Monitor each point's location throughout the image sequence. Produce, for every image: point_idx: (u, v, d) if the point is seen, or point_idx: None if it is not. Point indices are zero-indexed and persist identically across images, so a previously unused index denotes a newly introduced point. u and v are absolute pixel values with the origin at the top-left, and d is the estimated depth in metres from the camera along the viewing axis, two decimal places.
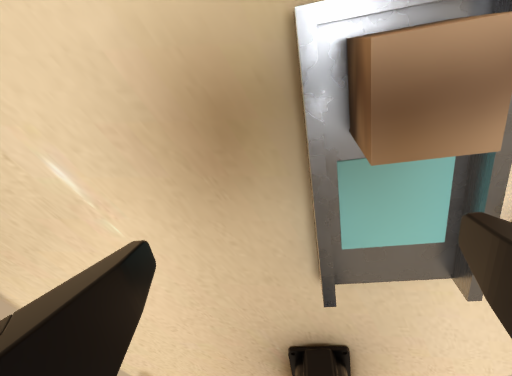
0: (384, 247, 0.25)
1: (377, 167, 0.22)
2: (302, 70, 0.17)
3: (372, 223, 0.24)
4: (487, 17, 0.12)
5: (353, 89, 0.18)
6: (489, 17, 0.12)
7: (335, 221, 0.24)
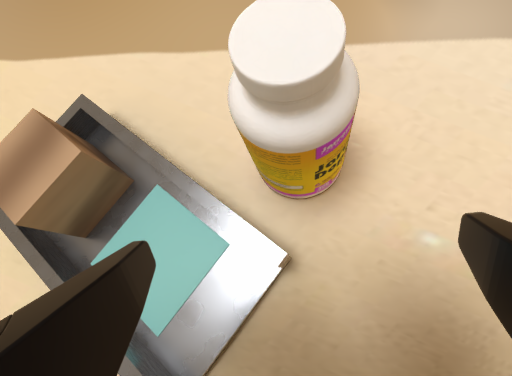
0: (191, 297, 0.21)
1: (122, 241, 0.23)
2: None
3: (159, 285, 0.22)
4: (19, 124, 0.21)
5: None
6: None
7: None
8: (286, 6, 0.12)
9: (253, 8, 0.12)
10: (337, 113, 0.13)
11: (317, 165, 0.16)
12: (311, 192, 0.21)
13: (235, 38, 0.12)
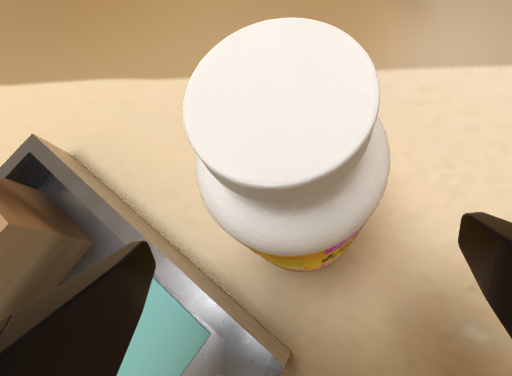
0: None
1: None
2: None
3: None
4: None
5: None
6: None
7: None
8: (277, 45, 0.07)
9: (224, 47, 0.08)
10: (359, 206, 0.08)
11: (326, 256, 0.12)
12: (316, 268, 0.16)
13: (193, 98, 0.07)
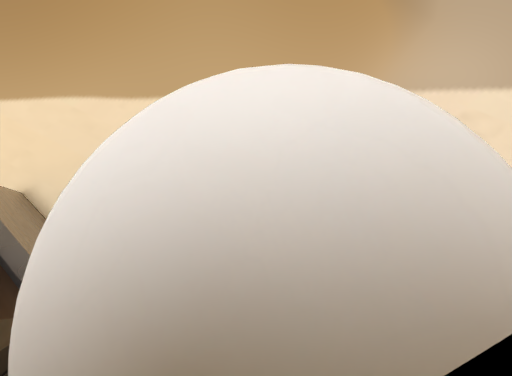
0: None
1: None
2: None
3: None
4: None
5: None
6: None
7: None
8: (265, 141, 0.03)
9: (136, 138, 0.03)
10: None
11: None
12: None
13: (41, 283, 0.03)
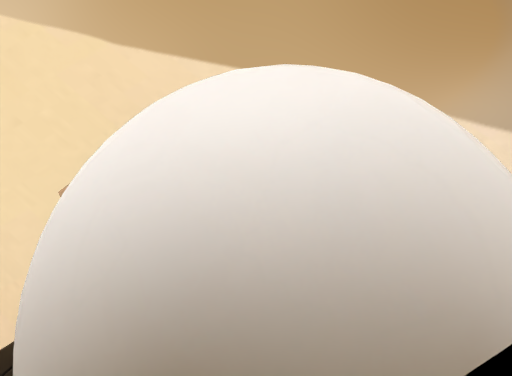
0: None
1: None
2: None
3: None
4: None
5: None
6: None
7: None
8: (262, 140, 0.03)
9: (135, 138, 0.03)
10: None
11: None
12: None
13: (45, 278, 0.03)
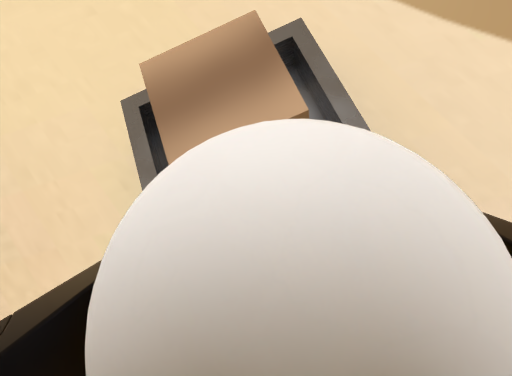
0: None
1: None
2: (132, 142, 0.17)
3: None
4: (227, 24, 0.14)
5: None
6: None
7: None
8: (287, 185, 0.03)
9: (178, 178, 0.04)
10: None
11: None
12: None
13: (108, 298, 0.03)
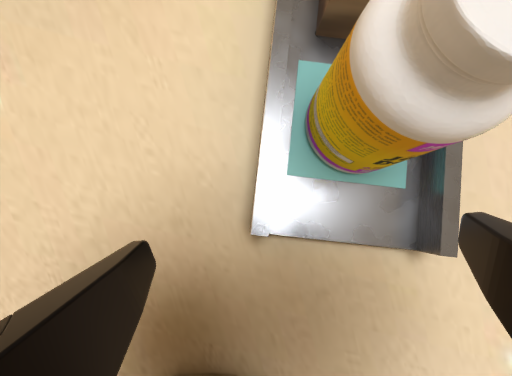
0: (337, 183, 0.20)
1: None
2: None
3: None
4: None
5: None
6: None
7: (285, 133, 0.20)
8: None
9: None
10: (488, 119, 0.10)
11: (397, 155, 0.13)
12: (351, 169, 0.18)
13: None
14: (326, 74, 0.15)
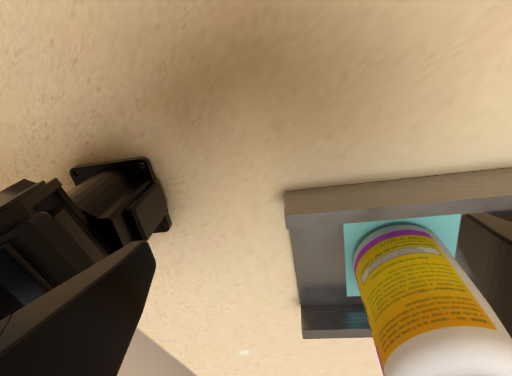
0: (342, 253, 0.23)
1: (444, 239, 0.22)
2: None
3: None
4: None
5: None
6: None
7: None
8: None
9: None
10: None
11: (372, 331, 0.18)
12: (355, 270, 0.22)
13: None
14: (441, 267, 0.17)
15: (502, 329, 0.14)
